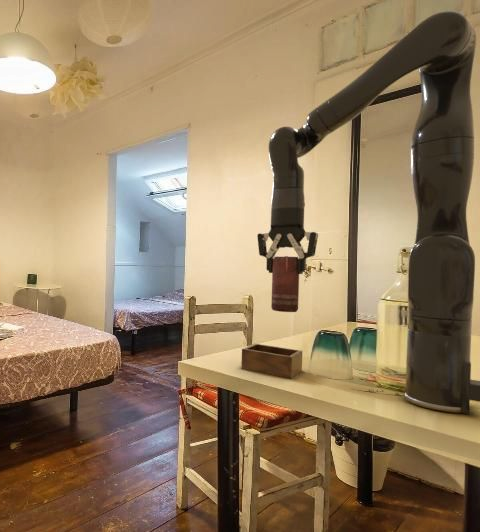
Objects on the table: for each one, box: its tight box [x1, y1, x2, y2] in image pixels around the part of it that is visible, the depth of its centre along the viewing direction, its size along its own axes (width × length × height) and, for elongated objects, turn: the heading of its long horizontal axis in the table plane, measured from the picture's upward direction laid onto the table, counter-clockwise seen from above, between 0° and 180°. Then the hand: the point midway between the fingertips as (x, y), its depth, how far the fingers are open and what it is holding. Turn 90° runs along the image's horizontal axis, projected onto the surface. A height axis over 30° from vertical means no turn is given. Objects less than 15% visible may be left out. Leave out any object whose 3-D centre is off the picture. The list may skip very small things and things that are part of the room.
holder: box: [240, 343, 303, 380], centre depth 100 cm, size 12×10×5 cm
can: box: [270, 255, 300, 313], centre depth 101 cm, size 6×6×14 cm
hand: (285, 273), depth 101 cm, fingers closed on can, 6 cm apart
